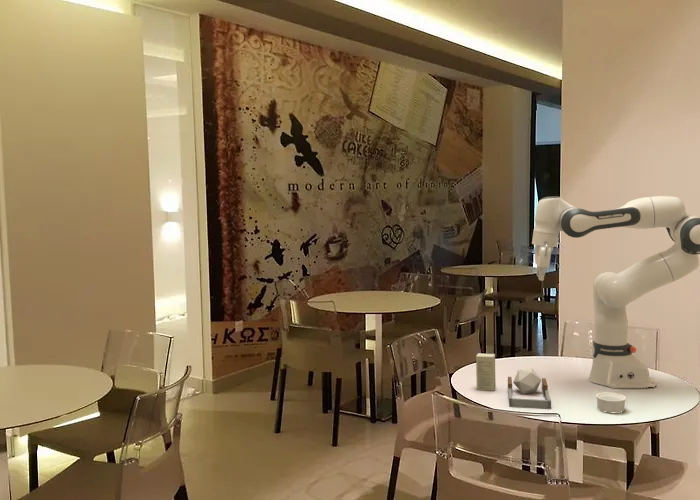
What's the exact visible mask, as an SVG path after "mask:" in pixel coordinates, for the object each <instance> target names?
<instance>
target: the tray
mask: <svg viewBox="0 0 700 500" xmlns="http://www.w3.org/2000/svg"><path fill="white" fill-rule="evenodd" d="M507 392H508V393H507V394H508V395H507V396H508V398H507V399H508V406H509V407H511V408H512V407H513V408H514V407H516V408H531V409H547V410H549V409H550V410H551V409H552V399H551V396H550V393H549V390H545V397H544V399H534V398H519V397H518V398H516V397H515V398H513V389H512V390H511V389H510V388H508V387H507Z"/></svg>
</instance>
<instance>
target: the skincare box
mask: <svg viewBox="0 0 700 500" xmlns="http://www.w3.org/2000/svg"><path fill="white" fill-rule="evenodd" d="M475 368H476V369H475V370H476V372H475V373H476V375H475V376H476V390H477V391H478V390H479V391H490V392H493V391H495V389H496V383H497V382H496V354H495V353H479V352H478V353H476V355H475Z"/></svg>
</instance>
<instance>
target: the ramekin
mask: <svg viewBox="0 0 700 500" xmlns="http://www.w3.org/2000/svg"><path fill="white" fill-rule="evenodd" d="M595 398H596V403H597V404H596V405H597V409H598V410H599V409H600V410H599V411H601V410H602V411H601V412H603V411H606V412H605V413H607V412H621V411H623V412H624V411H625V405H626V401H627V397H626V396H625V395H624V394H621V393H616V392H599V393H597V394H596V396H595ZM621 413H622V412H621Z"/></svg>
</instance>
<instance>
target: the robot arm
mask: <svg viewBox="0 0 700 500" xmlns="http://www.w3.org/2000/svg"><path fill="white" fill-rule="evenodd" d="M536 206H537V207H536V211H535V217H534V222H535V223H534V224H535V225H534V228H533V230H532V231H533V232H532V241H531V244H532V245H534V262H535V264H536V276H537V277H538V280H539V281H542V282H543V281H544V280H545V275H546V270H549V269H550V264H551V258H552V257H551V256H552V252H553V251H554V248H557V247H558V241H559V236H560V235H559V234H560V232H564V233H565V234H566V235H567V236H568V237H571V238H578V239H579V238H582V237H585V236H586V235H589V234H590V233H592V232H594V231H597V230H599V231H600V230H606V229H611V228H614V229H615V228H628V229H636V230H637V229H638V230H640V229H642V230H643V229H644V230H645V229H647V230H648V229H655V228H656V229H657V228H665V229H666V230H667V233H668V234H667V235H669V238H670V239H671V240H672V241H673V242H674V243H673V245H672V246H671V247H669V248H667V249H666V250H663V251H660V252H658V253H656V254H654V255H651V256H648V257H646V258H644V259H642V260H639V261H636V262H635V263H634V264H633V265H631V266H629V267H628V268H626V269H623V270H622V271H620V272H618V273H615V272H613V271H605V272H602V273H600V274H598V275H597V276H596V277H595V279H594V281H593V284H592V292H593V294H592V296H593V297H592V298H593V310H594V311H593V312H594V313H593V314H594V339H593V341H592V356H593V358H592V365H591V369H590V373H589V376H588V380H589V381H590V382H592V383H595V384H598V385H601V386H602V385H603V386H605V387H608V388H612V389H649V388H648V387H654V388H656V387H657V381H656V379H654V378H653V377H652V376H650V371H649V368H648V365H646V363H644V362H643V361H642V360H641V359H640V358H638V356H636V355H634V354H635V353H636V352H637V348H636V347H635V346H633V345H632V344H630V343H629V342H628V326H629V325H628V316H627V308H626V307H627V306H628V305H629V304H630V303H632V302H634V301H636V300H637V299H640V298H641V297H643V296H644V295H646V294H648V293H650V292H652V291H654V290H656V289H659V288H661V287H664V286H666V285H668V284H671V283H674V282H676V281H678V280H680V279H683V278H684V277H686V276H688V275H689V274H691V273H693V272H694V271H696V270H697V269H698V268H699V266H700V257H699V255H700V217H699V216H697V215H691V214H688V213H687V212H686V206H685V204H684V202H683V200H682V199H681V198H680V197H678V196H672V195H655V196H654V195H652V196H645V197H644V196H643V197H640V198H639V197H638V198H636V199H632V200H629V201H628V202H626V203H625V204H624V205H622V206H621V207H618V208H613V209H606V210H597V211H591V210H586V209H584V208H578V207H575V206H574V205H571V204H570V203H568V202H567V201H565V200H564V199H563V198H562V197H561V196H557V195H556V196H544V197H542V198H540V199H539V201H538V203H537V205H536ZM655 386H656V387H655ZM646 387H647V388H646Z"/></svg>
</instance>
